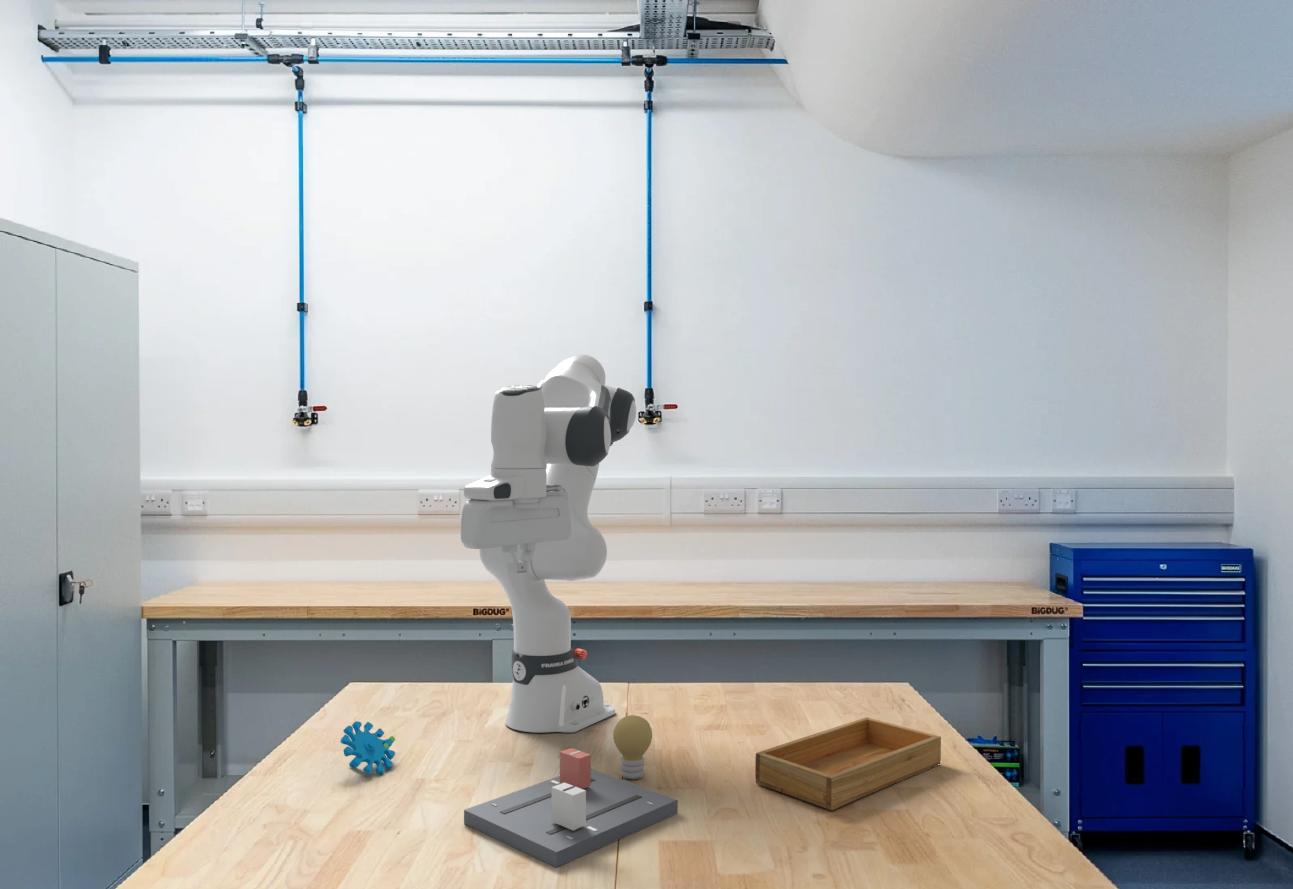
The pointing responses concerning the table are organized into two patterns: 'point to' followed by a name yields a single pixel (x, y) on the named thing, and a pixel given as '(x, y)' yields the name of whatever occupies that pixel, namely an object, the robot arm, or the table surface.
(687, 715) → the table surface
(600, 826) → the console
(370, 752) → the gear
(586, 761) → the red fader
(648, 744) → the light bulb
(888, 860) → the table surface
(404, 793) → the table surface
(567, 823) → the grey fader
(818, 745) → the tray
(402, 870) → the table surface
